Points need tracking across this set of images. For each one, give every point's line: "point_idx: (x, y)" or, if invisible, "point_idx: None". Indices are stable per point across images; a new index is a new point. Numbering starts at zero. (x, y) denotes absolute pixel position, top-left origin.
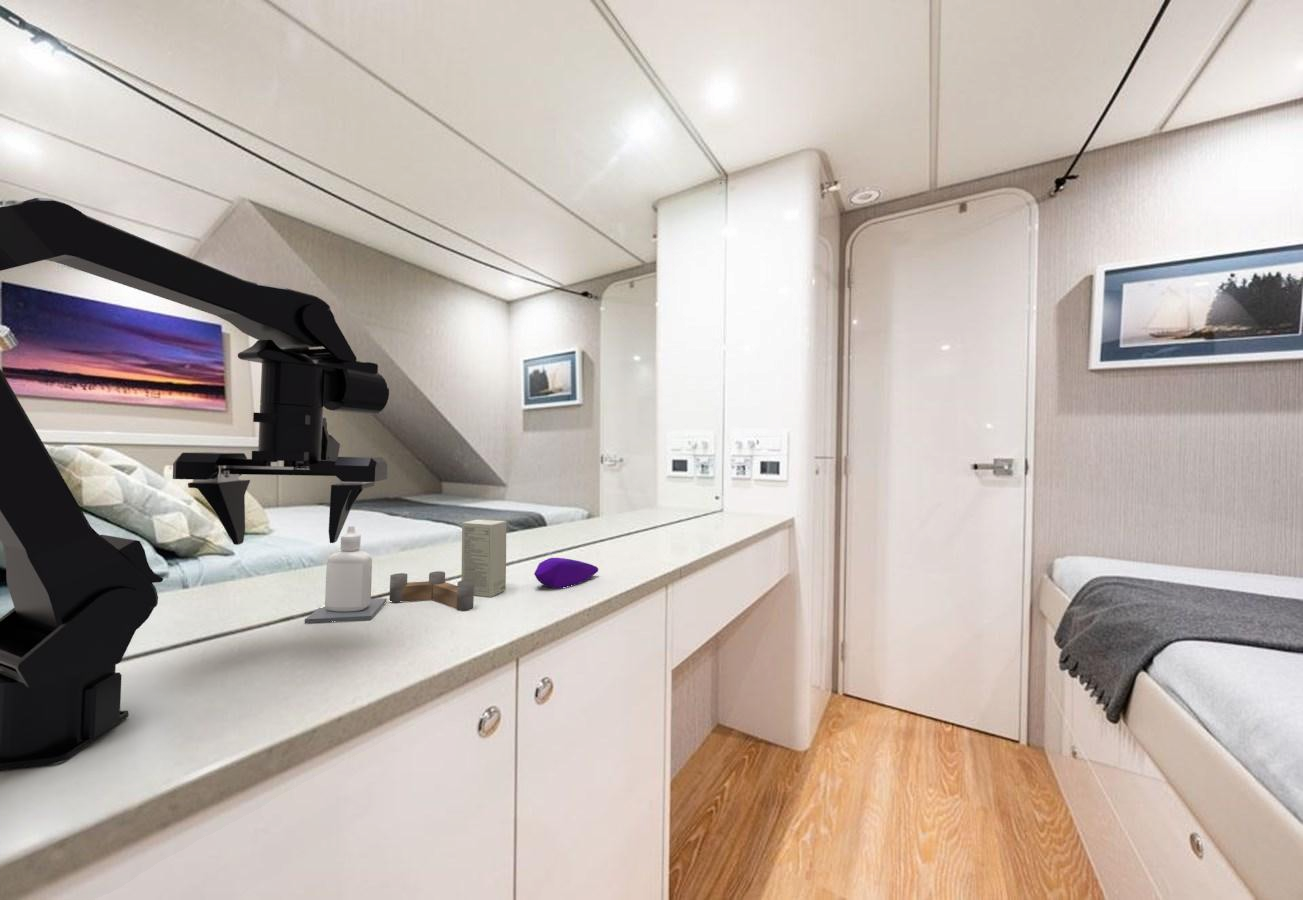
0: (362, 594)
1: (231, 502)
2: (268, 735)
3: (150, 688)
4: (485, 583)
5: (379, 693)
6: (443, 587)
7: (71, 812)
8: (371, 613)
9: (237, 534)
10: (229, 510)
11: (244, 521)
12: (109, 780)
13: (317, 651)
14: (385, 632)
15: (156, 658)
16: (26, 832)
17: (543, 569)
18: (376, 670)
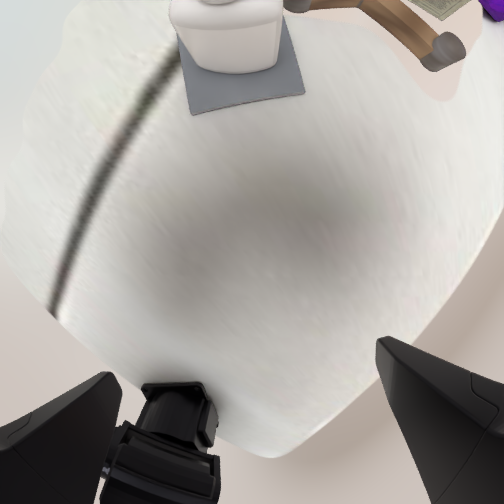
0: (274, 54)
1: (73, 496)
2: (340, 400)
3: (162, 333)
4: (442, 6)
5: (407, 341)
6: (396, 15)
7: (272, 448)
8: (299, 79)
9: (115, 417)
10: (94, 488)
11: (74, 406)
12: (267, 434)
13: (290, 234)
14: (358, 156)
15: (94, 257)
16: (264, 455)
17: (502, 7)
18: (394, 294)
